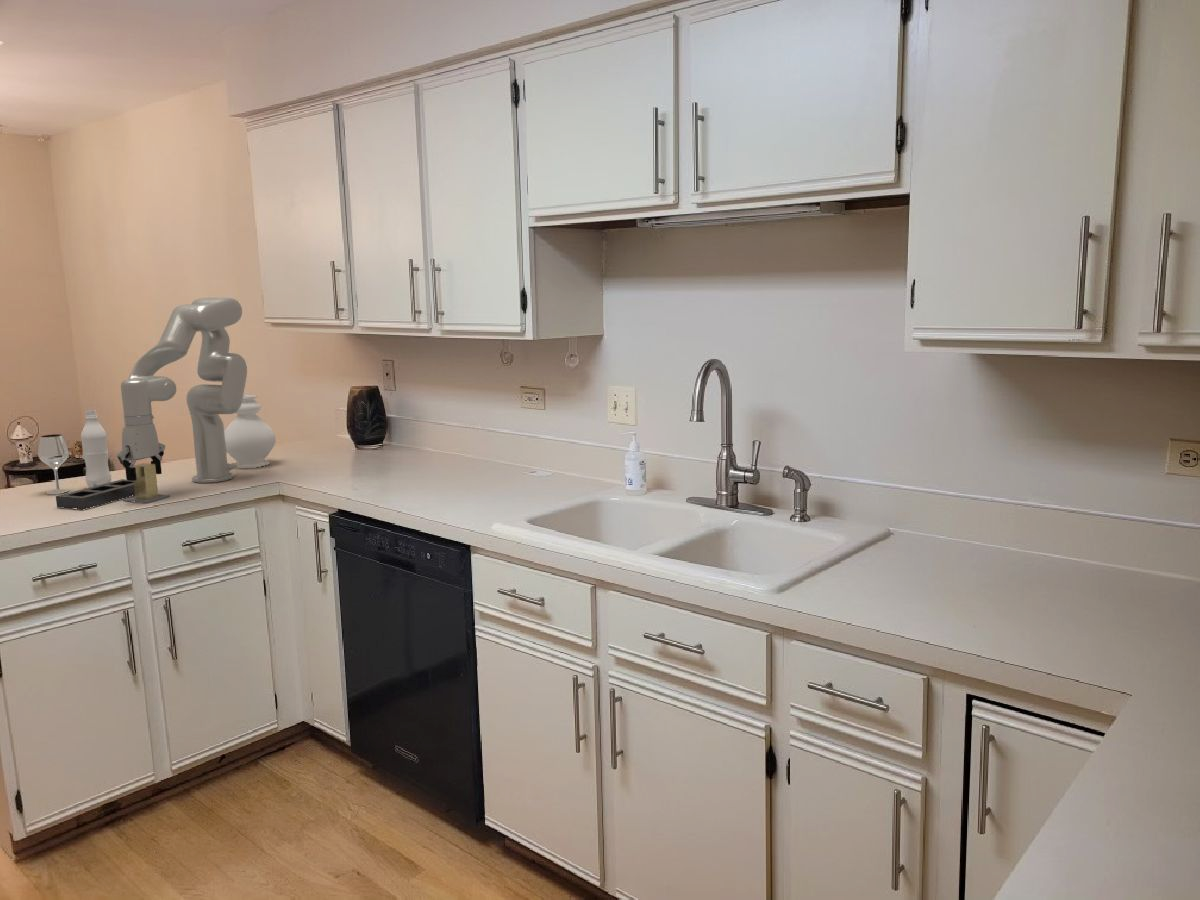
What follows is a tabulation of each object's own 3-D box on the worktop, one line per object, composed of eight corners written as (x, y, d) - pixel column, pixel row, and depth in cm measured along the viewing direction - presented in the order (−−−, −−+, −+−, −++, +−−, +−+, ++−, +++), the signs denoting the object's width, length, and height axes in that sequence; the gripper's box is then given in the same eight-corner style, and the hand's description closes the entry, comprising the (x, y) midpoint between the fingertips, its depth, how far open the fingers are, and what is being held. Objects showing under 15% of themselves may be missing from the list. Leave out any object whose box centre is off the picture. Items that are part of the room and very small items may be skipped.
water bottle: (101, 490, 281) (92, 412, 276) (81, 489, 282) (72, 411, 278) (117, 485, 288) (109, 409, 283) (98, 484, 289) (89, 408, 285)
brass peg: (146, 495, 271) (143, 463, 269) (158, 496, 270) (155, 463, 268) (135, 498, 267) (131, 466, 265) (147, 499, 266) (143, 466, 264)
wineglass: (46, 490, 281) (39, 434, 278) (75, 488, 284) (69, 433, 280) (40, 496, 273) (33, 438, 270) (70, 494, 276) (63, 436, 273)
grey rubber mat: (146, 494, 274) (146, 493, 274) (170, 496, 271) (169, 495, 271) (122, 501, 265) (122, 499, 265) (147, 503, 263) (147, 501, 263)
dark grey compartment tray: (123, 490, 281) (122, 479, 280) (148, 491, 278) (147, 481, 277) (57, 507, 258) (55, 496, 258) (84, 510, 255) (82, 498, 255)
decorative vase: (255, 471, 308) (249, 399, 304) (213, 468, 314) (206, 398, 309) (287, 461, 325) (282, 393, 321) (247, 459, 331) (241, 392, 326)
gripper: (150, 416, 273) (156, 470, 276) (104, 424, 257) (111, 482, 260) (170, 417, 271) (176, 472, 274) (125, 425, 255) (131, 483, 258)
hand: (144, 477), depth 267 cm, fingers open, 9 cm apart
